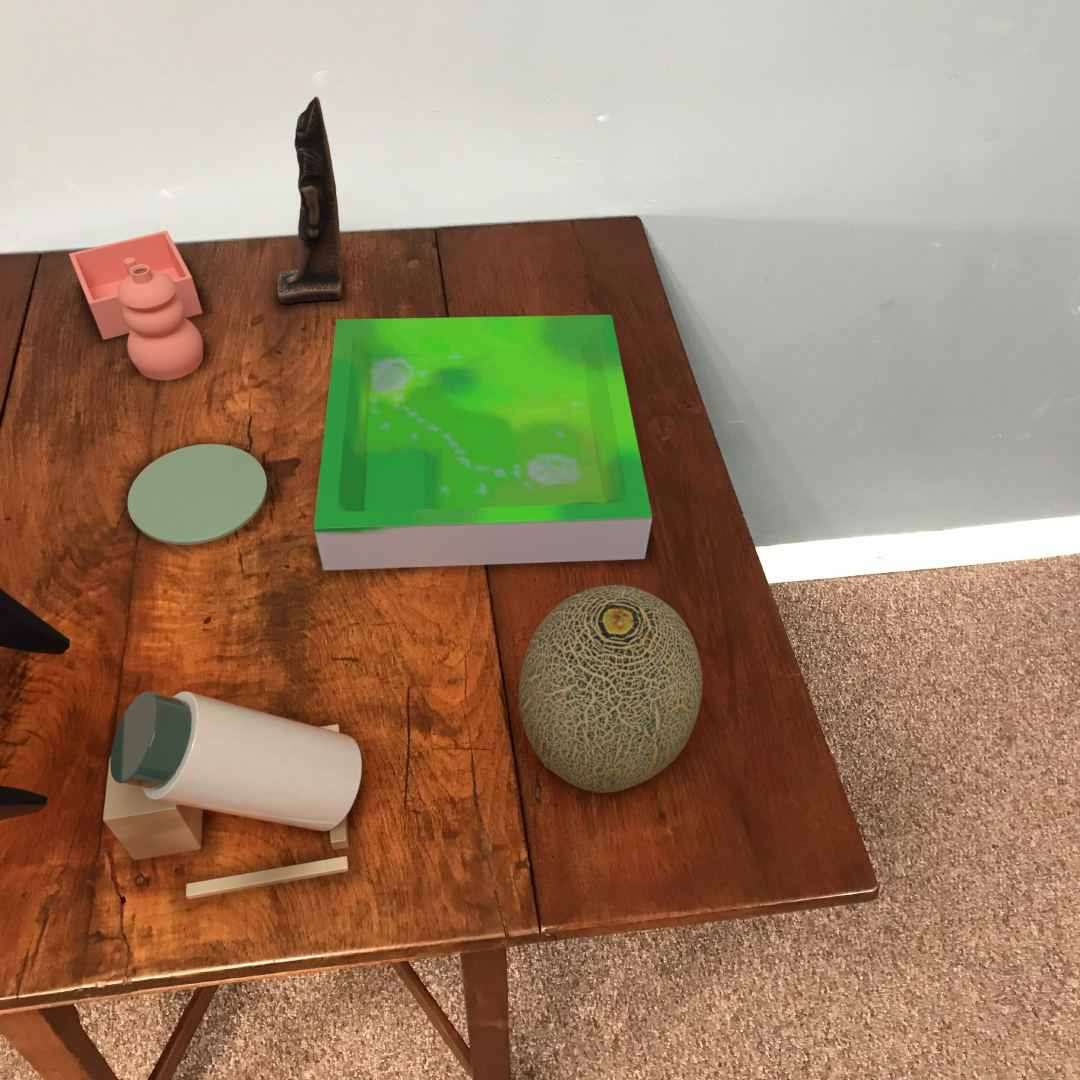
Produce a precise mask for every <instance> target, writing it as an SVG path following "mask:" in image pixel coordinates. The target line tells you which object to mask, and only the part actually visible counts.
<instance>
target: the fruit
mask: <svg viewBox="0 0 1080 1080" xmlns="http://www.w3.org/2000/svg"><path fill="white" fill-rule="evenodd" d="M694 638H695V637H694V636H693V635H692V633H691V631H690V630H689V627H688V626H687V624H686V622H685V621H684V620H683V618H682V616H681V615H680V614H679V613H677V612H676V610H674V608H673V607H671V606H670V605H669V604H667V603H666V602H665V601H663V600H662V599H660V598H659V597H657V596H656V595H653V594H652V593H650V592H648V591H645V590H643V589H639V588H637V587H634V586H630V585H625V584H609V585H601V586H600V585H599V586H597V587H592V588H589V589H585V590H582V591H580V592H578V593H575V594H573V595H571V596H569V597H567V598H565V599H564V600H563V601H561V602H560V603H559V604H557V605H556V606H555V607H554V608H553V609H551V610H550V611H549V612H548V614H546V616H545V617H544V618H543V620H542V621H541V622H540V623H539V625H538V626H537V628H536V629H535V631H534V633H533V634H532V637H531V638H530V641H529V643H528V646H527V649H526V651H525V654H524V658H523V661H522V665H521V668H520V669H521V670H520V674H519V680H518V682H519V683H518V711H519V715H520V719H521V723H522V726H523V729H524V733H525V736H526V739H527V740H528V742H529V743H530V745H531V747H532V749H533V751H534V752H535V754H536V756H537V758H539V761H541V763H542V764H543V765H544V767H545V768H546V769H547V770H549V771H551V773H553V774H555V775H556V776H558V777H559V778H561V779H562V780H564V781H565V782H567V783H568V784H570V785H571V786H574V787H575V788H578V789H581V790H584V791H589V792H592V793H600V794H602V793H603V794H605V793H617V792H621V791H625V790H627V789H630V788H632V787H636V786H637V785H640V784H643V783H644V782H646V781H648V780H651V779H652V778H653V777H655V776H657V775H658V774H660V772H662V771H664V770H665V769H666V768H667V767H668V766H669V765H670V764H671V763H673V762H674V761H676V759H677V757H678V756H679V755H680V754H681V752H682V751H683V749H684V748H685V747H686V745H687V743H688V740H689V739H690V737H691V734H692V732H693V729H694V726H695V724H696V721H697V719H698V716H699V711H700V707H701V702H702V697H703V671H702V665H701V660H700V656H699V653H698V650H697V649H698V648H697V646H696V643H695V639H694Z"/></svg>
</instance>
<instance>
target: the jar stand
mask: <svg viewBox="0 0 1080 1080" xmlns="http://www.w3.org/2000/svg"><path fill="white" fill-rule="evenodd" d="M320 727H321V728H324V729H328V730H332V731H335V732H339V733H341V732H340V725H339V723H335V724H331V725H324V726H320ZM110 760H111V756H109V760H108V768H107V776H106V777H107V778H106V788H105V797H104V805H103V806H104V807H103V816H102V821H103V822H104V823H105V825H106V826H107V828H108V829H109V830H110V831H111V832H112V834H113V835H114V836H115V838H116V840H117V841H118V842H119V843H120V844H121V845H122V847H123V848H124V850H125V851H126V852H127V853H128V854H129V856H130V857H131V859H132V860H133V861H138V860H144V859H151V858H157V857H161V856H163V857H164V856H167V855H175V854H180V853H186V852H193V851H199V850H202V845H203V844H202V843H203V841H202V839H203V816H204V815H203V813H204V809H199V808H194V807H189V806H183V805H178V804H173V803H167V802H162V801H157V800H152V799H150V798H148V797H147V796H146V795H145V793H144V791H143V788H141V787H136V786H131V785H126V784H120V783H117V782H116V781H115V780H114V779H113V777H112V774H111V768H110ZM348 826H349V825H348V814H347V815H346V816H345V818H344V819H343V820H342V821H341V822H340V823H339V824H338V825H337V826H336V827H334V828H332V829H330V830H329V842H330V845H331V848H332V850H340V849H346V848H349V846H350V842H349V828H348ZM349 869H350V865H349V858H348V856H347V855H345V856H339V857H333V858H327V859H321V860H314V861H310V862H304V863H299V864H293V865H287V866H281V867H275V868H269V869H264V870H257V871H252V872H247V873H241V874H234V875H230V876H224V877H218V878H212V879H206V880H201V881H195V882H194V881H193V882H188V883H186V885H185V897H186V898H187V900H192V899H197V898H198V899H199V898H204V897H209V896H216V895H221V894H227V893H232V892H237V891H243V890H248V889H249V890H250V889H254V888H255V889H256V888H259V887H260V888H261V887H265V886H266V887H267V886H270V885H277V884H282V883H283V884H284V883H288V882H295V881H300V880H305V879H312V878H315V877H322V876H328V875H333V874H339V873H346V872H349Z"/></svg>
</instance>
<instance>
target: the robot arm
mask: <svg viewBox="0 0 1080 1080" xmlns="http://www.w3.org/2000/svg"><path fill="white" fill-rule="evenodd" d="M70 646H71V640H70V638H68V637H67V636H65V634H63V633H61V632H60V631H59V630H58V629H56V628H55V627H53V626H52V625H50V624H49V623H48V622H47V621H45V620H44V619H43V618H41V617H40V616H38V615H37V614H35V612H33V611H32V610H30V609H29V608H28V607H26V606H25V605H24V604H22V603H21V602H20V601H18V600H17V599H16V598H14V597H13V596H11V595H10V593H8V592H6V591H5V590H4V589H3V588H1V587H0V648H4V649H9V650H10V649H11V650H16V651H20V652H25V653H26V652H27V653H33V654H43V655H44V654H45V655H56V656H60V655H61V656H62V655H63V654H64V653H65V652H66V651H67V650H69V649H70ZM48 802H49V798H48V796H47V795H45V794H41V793H37V792H34V791H31V790H27V789H23V788H19V787H14V786H13V787H12V786H6V785H0V821H4V820H9V819H13V818H19V817H23V816H28V815H33V814H37V813H39V812H41V811H42V810H43V809H44V808H45V807H46V806H48Z"/></svg>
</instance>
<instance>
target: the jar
mask: <svg viewBox="0 0 1080 1080" xmlns="http://www.w3.org/2000/svg"><path fill="white" fill-rule="evenodd" d="M321 727H322V726H316V725H312V724H309V723H307V722H301V721H298V720H294V719H291V718H288V717H284V716H280V715H276V714H272V713H270V712H265V711H262V710H259V709H254V708H251V707H247V706H244V705H239V704H235V703H232V702H228V701H225V700H222V699H221V700H220V699H218V698H214V697H211V696H206V695H203V694H199V693H195V692H192V691H188V690H184V691H180V692H178V693H176V694H175V695H173V696H170V695H167V694H164V693H160V692H156V691H152V690H146V691H143V692H141V693H140V694H138V695H137V696H136V697H135V698H133V700H132V702H130V704H129V706H128V707H127V709H126V711H124V714H123V716H122V717H121V720H120V722H119V724H118V727H117V730H116V732H115V736H114V738H113V741H112V746H111V752H110V757H111V760H110V768H111V774H112V777H113V779H114V780H115V781H116V782H117V783H120V784H126V785H131V786H136V787H141V788H143V791H144V793H145V795H146V796H147V797H148V798H150V799H152V800H157V801H162V802H167V803H173V804H178V805H183V806H189V807H194V808H199V809H203V810H205V811H211V812H216V813H220V814H226V815H232V816H237V817H242V818H243V817H244V818H248V819H252V820H257V821H258V820H259V821H264V822H268V823H274V824H279V825H283V826H284V825H285V826H290V827H295V828H301V829H306V830H311V831H317V832H328V831H330V829H332V828H334V827H336V826H337V825H338V824H339V823H340V822H341V821H342V820H343V819H344V818H345V816H346V815H347V816H348V814H349V812H350V810H351V809H352V807H353V805H354V803H355V800H356V798H357V795H358V794H359V793H358V792H359V789H360V785H361V779H362V772H363V760H362V753H361V750H360V747H359V745H358V743H357V741H356V740H355V739H354V738H353V737H352V736H351V735H349V734H346V733H342V732H340V733H339V732H335V731H332V730H328V729H324V728H321Z"/></svg>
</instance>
